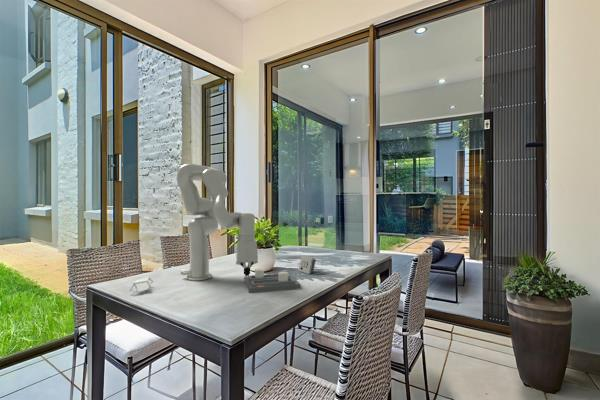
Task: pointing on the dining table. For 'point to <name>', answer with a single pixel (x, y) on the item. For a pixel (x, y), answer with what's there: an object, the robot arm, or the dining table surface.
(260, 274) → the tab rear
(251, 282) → the switch panel
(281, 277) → the tab front
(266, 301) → the dining table surface
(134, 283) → the origami figure
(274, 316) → the dining table surface
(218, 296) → the dining table surface
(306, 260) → the electrical switch
